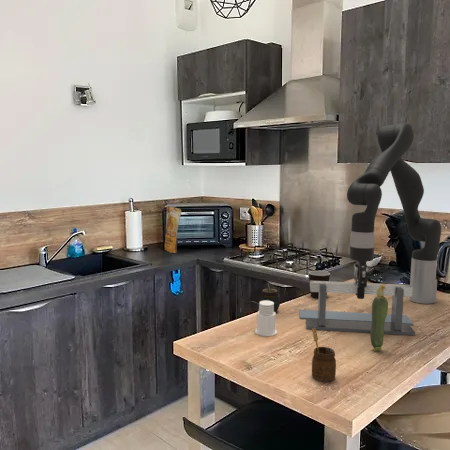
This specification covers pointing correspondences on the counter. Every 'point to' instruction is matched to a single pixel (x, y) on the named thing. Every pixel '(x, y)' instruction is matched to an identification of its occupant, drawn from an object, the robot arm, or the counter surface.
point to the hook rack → (360, 326)
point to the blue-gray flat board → (348, 316)
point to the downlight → (266, 319)
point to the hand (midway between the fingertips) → (359, 296)
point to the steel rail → (352, 288)
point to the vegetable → (378, 318)
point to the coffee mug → (318, 277)
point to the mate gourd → (271, 297)
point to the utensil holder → (323, 362)
